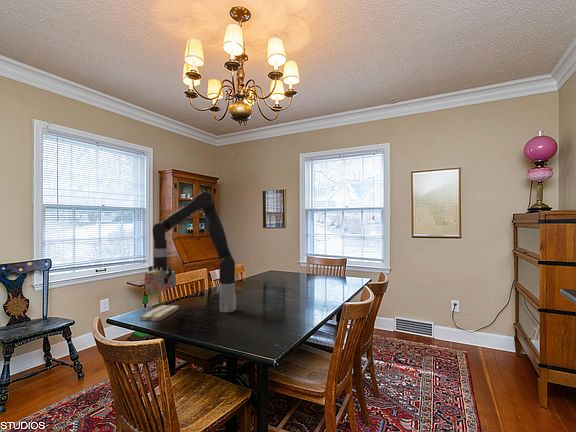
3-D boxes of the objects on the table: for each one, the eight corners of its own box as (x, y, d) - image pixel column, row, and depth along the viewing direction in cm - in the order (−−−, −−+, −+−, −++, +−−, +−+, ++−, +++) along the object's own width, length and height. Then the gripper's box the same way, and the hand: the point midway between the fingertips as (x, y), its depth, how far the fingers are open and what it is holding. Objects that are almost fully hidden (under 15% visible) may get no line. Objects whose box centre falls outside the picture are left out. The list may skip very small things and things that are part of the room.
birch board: (178, 308, 188) (178, 305, 188) (160, 320, 166) (160, 317, 166) (160, 308, 189) (160, 305, 189) (140, 320, 167) (140, 316, 167)
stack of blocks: (167, 285, 189) (166, 266, 189) (176, 285, 188) (175, 266, 188) (144, 294, 168) (144, 272, 168) (154, 294, 167) (154, 272, 167)
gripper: (174, 255, 181) (175, 282, 181) (152, 255, 182) (152, 282, 182) (168, 256, 173) (169, 285, 173) (145, 256, 175) (145, 285, 175)
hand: (160, 283), depth 178 cm, fingers closed on stack of blocks, 6 cm apart
